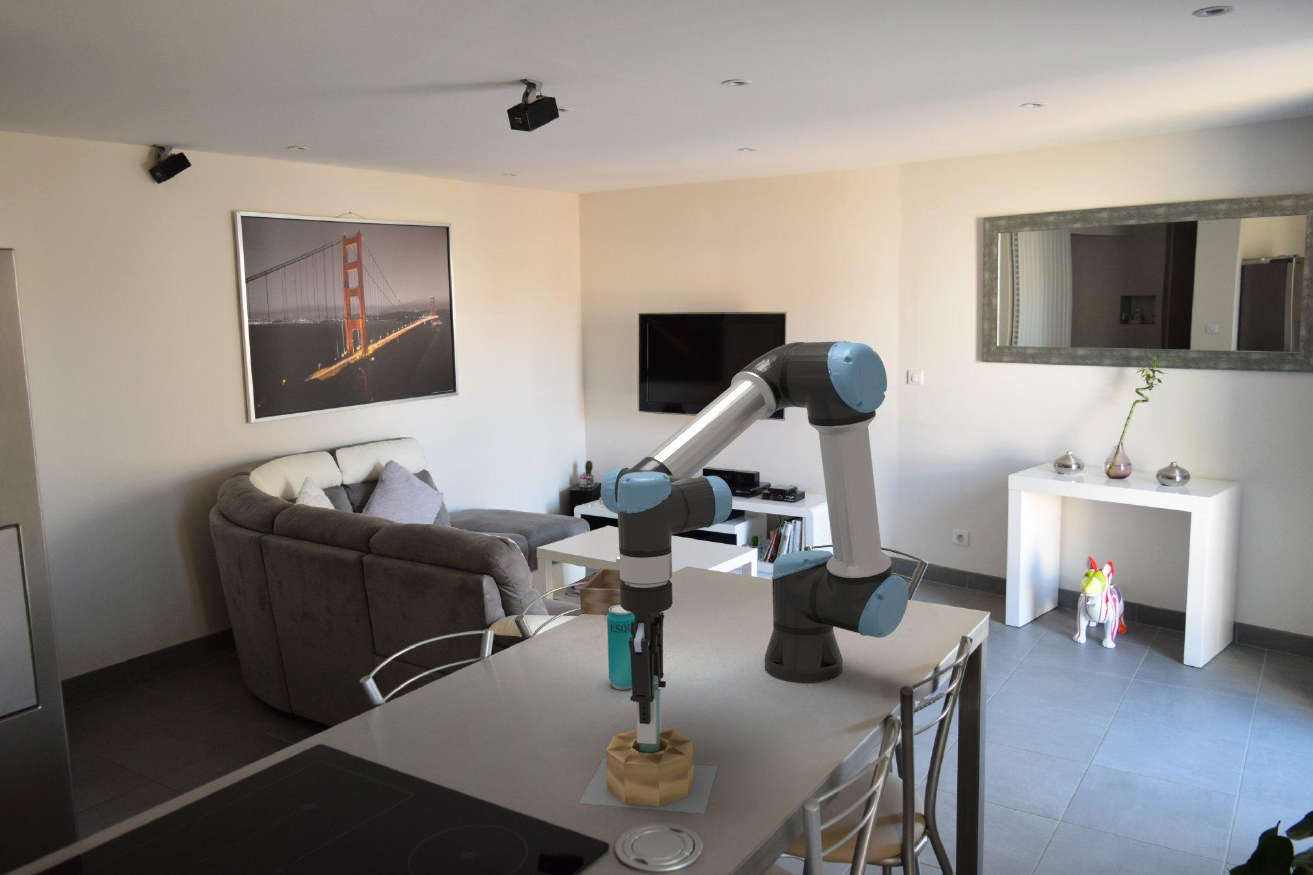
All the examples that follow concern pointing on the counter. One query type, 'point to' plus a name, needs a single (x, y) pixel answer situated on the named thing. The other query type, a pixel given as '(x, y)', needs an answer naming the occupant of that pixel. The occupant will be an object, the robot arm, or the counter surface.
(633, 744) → the wooden bead
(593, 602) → the open wooden box
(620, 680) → the beverage can
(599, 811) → the counter surface
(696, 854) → the counter surface
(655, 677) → the teal capped bottle
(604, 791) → the slate mat
